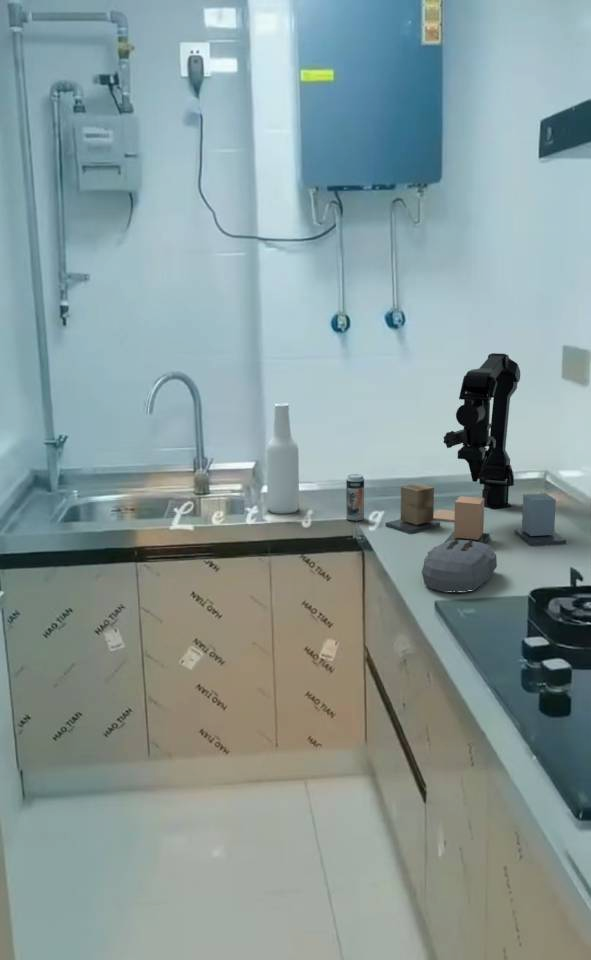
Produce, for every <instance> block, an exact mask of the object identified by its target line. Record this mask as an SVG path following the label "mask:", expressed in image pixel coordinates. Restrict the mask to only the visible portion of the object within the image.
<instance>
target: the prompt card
mask: <svg viewBox="0 0 591 960" xmlns="http://www.w3.org/2000/svg"><path fill="white" fill-rule="evenodd" d="M454 519H455V510H451V509H449V510H448V509H436V510H435V511H434V512H433V520H434V521H437V522H448V523H454Z"/></svg>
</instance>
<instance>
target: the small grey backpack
mask: <svg viewBox="0 0 591 960" xmlns="http://www.w3.org/2000/svg"><path fill="white" fill-rule="evenodd" d="M444 542H445V541H444ZM444 542H443V543H441V544H439V545H437V546H434V547H433V548H432V549H431V550H429V551H428V552H427V555H426V556H425V557H424V559H423V567H422V570H421V575H422V578H423V584H424V585H425V586H426V587H428V588H430V589H431V590H434V589H435V591H438V590H440V591H439V592H441V591H452V592H453V591H455V592H458V591H468V590H474V589H475V590H477V589H479V588H480V587H481V586H482V585H484V584H485V583H486V582H487V581H488V580H489V579H490V578H491V576H492V575H493V573H494V571H495V570H496V568H497V567H498V566H497V565H498V564H497V563H498V561H497V559H498V558H497V554H496V553H495V551H494V549H493V547H492V546H491V545H489V544H487V543H486V544H484V543H480V542H475V541H469V540H459V539H455V540H453V541H448V542H445V543H444ZM484 582H485V583H484ZM483 583H484V584H483ZM479 586H480V587H479ZM478 587H479V588H478ZM476 588H477V589H476ZM475 590H474V591H475Z"/></svg>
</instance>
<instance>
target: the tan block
mask: <svg viewBox="0 0 591 960" xmlns="http://www.w3.org/2000/svg"><path fill="white" fill-rule="evenodd" d="M454 511H455V519H454V522H453V524H454V527H453V528H454V529H453V531H454V537H456V538H466V539H476V540H479V538H480V537H481V535H482V534H483V533H484V524H485V523H484V522H485V521H484V520H485V505H484V498H482V497H474V496H463V495H460V496H458V498H457V499H456V500H455V501H454Z"/></svg>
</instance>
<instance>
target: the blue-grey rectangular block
mask: <svg viewBox="0 0 591 960" xmlns="http://www.w3.org/2000/svg"><path fill="white" fill-rule="evenodd" d="M522 497H523V498H522V518H521V529H522V530H523V531H525V532H526V533H527V534H529V535H530V536H540V535H554V532H555V525H556V523H555V522H556V504H557V499H556V498H554V497H552V496H551V495H549V494H548V493H532V494H531V493H529V494H523V495H522Z"/></svg>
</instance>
